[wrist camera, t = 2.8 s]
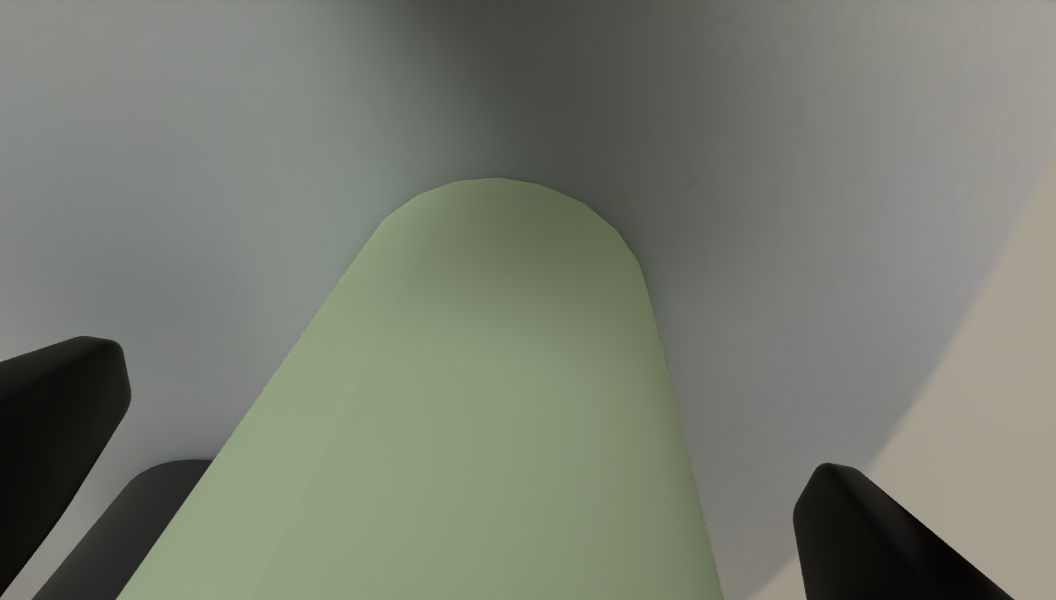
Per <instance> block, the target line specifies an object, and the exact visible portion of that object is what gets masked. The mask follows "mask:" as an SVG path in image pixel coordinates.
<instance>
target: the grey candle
mask: <svg viewBox="0 0 1056 600" xmlns="http://www.w3.org/2000/svg"><path fill="white" fill-rule="evenodd" d="M212 462H213V461H211V460H183V461H175V462H170V463H165V464H161V465H158V466H155V467H153V468H150V469H148V470H146V471H145V472H143V473H141V474H139V475H138V476H136V477H135V478H134V479H132V480H131V481H130V482H129V483H128V485H127V486H126V487H125V488H124V489H123V490H122V492H121V493H120V494H119V495H118V496H117V498H116V499H115V500H114V501H113V502H112V504H111V505H110V506H109V507H108V508H107V510H106V511H105V512H104V513H103V514H102V516H101V517H100V518H99V519H98V520H97V522H96V523H95V524H94V525H93V526H92V528H91V529H90V530H89V531H88V532H87V534H86V535H85V536H84V537H83V538H82V540H81V541H80V542H79V543H78V544H77V546H76V547H75V548H74V549H73V550H72V552H71V553H70V554H69V555H68V557H67V558H66V559H65V560H64V561H63V563H62V564H61V565H60V566H59V567H58V569H57V570H56V571H55V572H54V573H53V575H52V576H51V577H50V578H49V579H48V581H47V582H46V583H45V584H44V585H43V587H42V588H41V589H40V590H39V591H38V593H37V594H36V595H35V596H34V597H33V599H32V600H116V599H117V597H118V596H119V594H120V593H121V592H122V590H123V589H124V587H125V586H126V584H127V583H128V582H129V580H130V579H131V577H132V576H133V574H134V573H135V572H136V570H137V569H138V567H139V566H140V564H141V563H142V562H143V560H144V559H145V557H146V556H147V554H148V553H149V552H150V550H151V549H152V547H153V546H154V544H155V543H156V542H157V540H158V539H159V537H160V536H161V534H162V533H163V532H164V530H165V529H166V527H167V526H168V524H169V523H170V522H171V520H172V519H173V517H174V516H175V514H176V513H177V512H178V510H179V509H180V507H181V506H182V504H183V503H184V502H185V500H186V499H187V497H188V496H189V494H190V493H191V492H192V490H193V489H194V487H195V486H196V484H197V483H198V482H199V480H200V479H201V477H202V476H203V474H204V473H205V472H206V470H207V469H208V467H209V466H210V464H211V463H212Z"/></svg>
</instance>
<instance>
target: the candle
mask: <svg viewBox="0 0 1056 600" xmlns="http://www.w3.org/2000/svg"><path fill="white" fill-rule="evenodd" d="M116 600H724V598H723V594H722V590H721V586H720V582H719V578H718V574H717V570H716V565H715V561H714V557H713V553H712V549H711V545H710V541H709V537H708V533H707V529H706V525H705V521H704V517H703V513H702V508H701V504H700V500H699V496H698V492H697V488H696V484H695V480H694V476H693V472H692V468H691V464H690V460H689V456H688V451H687V447H686V443H685V439H684V435H683V431H682V427H681V423H680V419H679V415H678V411H677V407H676V403H675V399H674V394H673V390H672V386H671V382H670V378H669V374H668V370H667V366H666V362H665V358H664V354H663V350H662V346H661V342H660V337H659V333H658V329H657V325H656V321H655V317H654V313H653V309H652V305H651V301H650V297H649V294H648V291H647V287H646V284H645V281H644V278H643V275H642V272H641V269H640V266H639V263H638V261H637V259H636V258H635V256H634V255H633V254H632V252H631V251H630V249H629V248H628V246H627V245H626V243H625V242H624V241H623V239H622V238H621V236H620V235H619V233H618V232H617V231H616V229H614V228H613V227H612V226H611V225H610V224H608V223H607V222H606V221H605V220H603V219H602V218H601V217H600V216H599V215H597V214H596V213H595V212H594V211H592V210H591V209H590V208H589V207H588V206H586V205H585V204H584V203H582V202H580V201H578V200H575V199H573V198H571V197H569V196H567V195H564V194H562V193H560V192H558V191H555V190H553V189H551V188H549V187H547V186H544V185H540V184H534V183H529V182H523V181H517V180H511V179H506V178H500V177H499V178H487V179H475V180H463V181H455V182H452V183H449V184H446V185H443V186H441V187H438V188H435V189H432V190H430V191H427V192H424V193H421V194H418V195H416V196H415V197H413V198H412V199H410V200H409V201H408V202H406V203H405V204H404V205H402V206H401V207H399V208H398V209H397V210H395V211H394V212H392V213H391V214H390V215H388V216H387V217H386V218H384V219H383V221H382V222H381V223H380V225H379V226H378V227H377V229H376V230H375V231H374V233H373V234H372V236H371V237H370V238H369V240H368V241H367V242H366V244H365V245H364V246H363V248H362V249H361V250H360V252H359V253H358V255H357V256H356V258H355V259H354V260H353V262H352V263H351V265H350V266H349V268H348V269H347V270H346V272H345V273H344V275H343V276H342V277H341V279H340V280H339V282H338V283H337V285H336V286H335V287H334V289H333V290H332V292H331V293H330V295H329V296H328V297H327V299H326V300H325V302H324V303H323V305H322V306H321V307H320V309H319V310H318V312H317V313H316V315H315V316H314V317H313V319H312V320H311V322H310V323H309V325H308V326H307V327H306V329H305V330H304V332H303V333H302V335H301V336H300V337H299V339H298V340H297V342H296V343H295V345H294V346H293V347H292V349H291V350H290V352H289V353H288V355H287V356H286V357H285V359H284V360H283V362H282V363H281V365H280V366H279V367H278V369H277V370H276V372H275V373H274V375H273V376H272V377H271V379H270V380H269V382H268V383H267V385H266V386H265V387H264V389H263V390H262V392H261V393H260V395H259V396H258V397H257V399H256V400H255V402H254V403H253V405H252V406H251V407H250V409H249V410H248V412H247V413H246V415H245V416H244V417H243V419H242V420H241V422H240V423H239V425H238V426H237V427H236V429H235V430H234V432H233V433H232V435H231V436H230V437H229V439H228V440H227V442H226V443H225V444H224V446H223V447H222V449H221V450H220V452H219V453H218V454H217V456H216V457H215V459H214V460H213V462H212V463H211V464H210V466H209V467H208V469H207V470H206V472H205V473H204V474H203V476H202V477H201V479H200V480H199V482H198V483H197V484H196V486H195V487H194V489H193V490H192V492H191V493H190V494H189V496H188V497H187V499H186V500H185V502H184V503H183V504H182V506H181V507H180V509H179V510H178V512H177V513H176V514H175V516H174V517H173V519H172V520H171V522H170V523H169V524H168V526H167V527H166V529H165V530H164V532H163V533H162V534H161V536H160V537H159V539H158V540H157V542H156V543H155V544H154V546H153V547H152V549H151V550H150V552H149V553H148V554H147V556H146V557H145V559H144V560H143V562H142V563H141V564H140V566H139V567H138V569H137V570H136V572H135V573H134V574H133V576H132V577H131V579H130V580H129V582H128V583H127V584H126V586H125V587H124V589H123V590H122V592H121V593H120V594H119V596H118V597H117V599H116Z"/></svg>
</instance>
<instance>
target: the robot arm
mask: <svg viewBox="0 0 1056 600" xmlns="http://www.w3.org/2000/svg"><path fill="white" fill-rule="evenodd" d="M130 401H131V388H130V383H129V378H128V373H127V368H126V363H125V358H124V352H123V349H122V347H121V346H120V345H119V344H118V343H117V342H115V341H113V340H108V339H102V338H97V337H91V336H79V337H75V338H72V339H69V340H66V341H63V342H60V343H57V344H54V345H51V346H48V347H45V348H42V349H39V350H36V351H33V352H30V353H26V354H23V355H20V356H17V357H14V358H11V359H8V360H5V361H2V362H0V597H1V596H2V595H3V593H4V592H5V591H6V589H7V588H8V587H9V585H10V584H11V583H12V581H13V580H14V579H15V578H16V576H17V575H18V574H19V572H20V571H21V570H22V568H23V567H24V566H25V564H26V563H27V562H28V561H29V559H30V558H31V557H32V555H33V554H34V553H35V551H36V550H37V549H38V547H39V546H40V545H41V544H42V542H43V541H44V540H45V538H46V537H47V536H48V534H49V533H50V532H51V530H52V529H53V527H54V526H55V525H56V523H57V522H58V521H59V519H60V518H61V516H62V515H63V513H64V512H65V510H66V509H67V507H68V506H69V504H70V503H71V501H72V500H73V498H74V496H75V495H76V493H77V492H78V490H79V488H80V487H81V485H82V483H83V482H84V480H85V479H86V477H87V475H88V474H89V472H90V470H91V469H92V467H93V466H94V464H95V462H96V461H97V459H98V458H99V456H100V454H101V453H102V451H103V449H104V448H105V446H106V445H107V443H108V441H109V440H110V438H111V436H112V435H113V433H114V432H115V430H116V428H117V427H118V425H119V424H120V422H121V420H122V419H123V417H124V415H125V414H126V412H127V410H128V408H129V405H130ZM793 525H794V531H795V536H796V542H797V548H798V553H799V559H800V564H801V570H802V576H803V581H804V587H805V593H806V598H807V600H1014V599H1013V598H1011V597H1010V596H1009V595H1008V594H1007V593H1006V592H1004V591H1003V590H1002V589H1001V588H1000V587H998V586H997V585H996V584H995V583H994V582H992V581H991V580H990V579H989V578H988V577H986V576H985V575H984V574H983V573H982V572H980V571H979V570H978V569H977V568H975V567H974V566H973V565H972V564H971V563H969V562H968V561H967V560H966V559H965V558H963V557H962V556H961V555H960V554H958V553H957V552H956V551H955V550H954V549H953V548H951V547H950V546H949V545H948V544H947V543H945V542H944V541H943V540H942V539H941V538H939V537H938V536H937V535H936V534H934V533H933V532H932V531H931V530H930V529H929V528H927V527H926V526H925V525H924V524H922V523H921V522H920V521H919V520H918V519H916V518H915V517H914V516H913V515H912V514H910V513H909V512H908V511H907V510H906V509H904V508H903V507H902V506H901V505H899V504H898V503H897V502H896V501H895V500H894V499H892V498H891V497H890V496H889V495H887V494H886V493H885V492H884V491H883V490H882V489H880V488H879V487H878V486H877V485H876V484H874V483H873V482H872V481H870V480H869V479H868V478H867V477H866V476H865V475H864V474H862V473H861V472H860V471H859V470H857V469H855V468H853V467H849V466H844V465H838V464H832V463H823V464H821V465H819V466H818V467H817V468H816V469H815V471H814V473H813V474H812V476H811V478H810V480H809V481H808V483H807V485H806V487H805V488H804V490H803V492H802V494H801V495H800V497H799V499H798V501H797V502H796V505H795V508H794V512H793Z"/></svg>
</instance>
